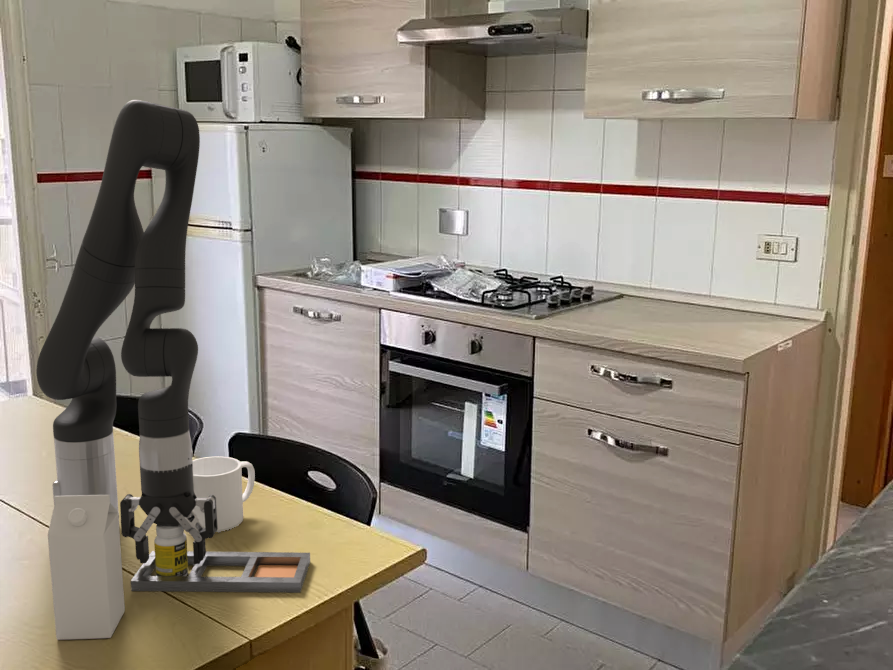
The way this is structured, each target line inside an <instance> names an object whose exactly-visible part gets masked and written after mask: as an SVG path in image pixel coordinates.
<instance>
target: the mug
mask: <svg viewBox="0 0 893 670" xmlns="http://www.w3.org/2000/svg"><path fill="white" fill-rule="evenodd" d="M192 463H193V483H194V493H195V495H196V497H197V498H208V497H209V496H210V495H214V496H215V497H216V509H217V525H218V529H217V531H216V532H218V533H222V532H221V531H224V532H226V531H225V530H227V531H230V530H233V529H235V528H237V527H239V524H241V523H242V522H243V521H244V505H243V504H244V502H246V501H247V500H248V499H249V498H250V496H251V494H253V489H254V486H255V481H256V477H255V476H256V475H255V474H256V473H255V468H254V466H253V464H252V463H250V462H249V461H247V460H246V461H240V460H238V459H237V458H233V457H230V456H229V457H228V456H220V455H219V456H218V455H217V456H207V457H200V458H195V459H192ZM242 468H246V469H247V475H248V477H247V484H246V487H245V490H244V492H243V475H242V474H243V473H242ZM192 511H193V512H194V513H195V515H196V516H197V517H198V519H199V522H200V523H201V525H202V526H203V527H204V528H205V515H204V513H203V512H201V510H200V508H199V507H198V506H195V508H194V509H193V510H192ZM236 526H237V527H236ZM234 527H235V528H234ZM232 528H233V529H232ZM229 529H230V530H229Z"/></svg>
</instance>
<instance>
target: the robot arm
mask: <svg viewBox="0 0 893 670" xmlns="http://www.w3.org/2000/svg"><path fill="white" fill-rule="evenodd" d="M200 134H201V133H200V128H199V124H198V122H197V119H196V118H195V116H194V115H193V114H192V113H191V112H189V111H188V110H185V109H182V108H176V107H174V106H169V105H164V104H159V103H155V102H150V101H146V100H140V99H132V100H129V101H128V102H126V103H125V104H124V105H123V106H122V108H121V109H120V111H119V113H118V116H117V117H116V120H115V123H114V127H113V129H112V133H111V138H110V143H109V147H108V152H107V156H106V160H105V164H104V170H103V174H102V178H101V183H100V186H99V190H98V194H97V197H96V199H95V203H94V207H93V210H92V213H91V216H90V220H89V222H88V224H87V228H86V230H85V232H84V236H83V239H82V241H81V245H80V246H79V250H78V253H77V257H76V259H75V263H74V267H73V271H72V274H71V277H70V280H69V283H68V286H67V288H66V291H65V293H64V297H63V299H62V302H61V305H60V308H59V310H58V313H57V316H56V317H55V319H54V322H53V324H52V325H51V328H50V330H49V332H48V335H47V336H46V339H45V340H44V343H43V345H42V347H41V350H40V353H39V355H38V359H37V363H36V370H35V371H36V380H37V385H38V387H39V389H40V390H41V392H42V393H43V394H44V395H45V396H46V397H48V398H49V399H52V400H57V401H64V400H71V401H70V403H69V404H68V405H67V407H66V408H65V409H64V410H63V411H62V412H61V413H60V414H58V415H57V416H56V417H55V418H54V419H53V422H52V434H53V441H54V443H53V444H54V454H55V455H54V457H55V468H56V479H55V481H54V482H52V496H53V497H52V498H53V499H54V496H70V495H110V503H111V504H112V505H113V507H114V508H115V509H116V510H117V512H118V517H119V518H120V530H121V531H120V532H121V536H122V537H124V538H130V539H133V540H134V543H135V558H136V559H137V560H139V563H140V564H143V563H146V562H147V561H148V559H149V555H150V546H149V545H150V544H149V535H147V533H148V532H149V530H150V528H151V527H152V526H153V524H155V525H157V526H165V525H170V526H178V525H181V526H182V527H183V529H184V532H187V533H189V536H191V537H192V539H193V541H192V549H193V550H192V551H193V554H194V564H200V562H201V561H202V560H203V559H204V557H205V555H206V552H207V551H206V550H207V548H206V545H207V544H206V540H207V539H213V538H214V536H215V534H216V533H215V532H216V531H217V529H218V525H217V509H216V497H215V496H214V495H210V496H209V497H208V498H197V497H196V495H195V493H194V483H193V463H192V460H193V457H194V453H193V447H192V439H191V434H190V421H189V420H190V419H189V418H190V416H189V397H190V396H189V395H190V388H191V383H192V380H193V379H192V378H193V374H194V371H195V368H196V364H197V360H198V356H199V355H198V354H199V344H198V341H197V339H196V337H195V335H194V334H193V333H192V332H191V330H188V329H186V328H182V327H180V328H179V327H178V328H177V327H176V328H175V327H174V328H169V327H167V328H166V327H165V328H164V327H163V328H161V327H160V328H159V327H158V328H151V325H152V323H153V321H154V320H155V318H156V317H157V316H160V315H163V314H169V313H172V312H177V311H180V310H181V309H182V308H183V307H184V306H185V303H186V249H187V237H188V236H187V235H188V227H189V221H190V215H191V210H192V204H193V199H194V197H193V196H194V190H195V184H196V179H197V171H198V165H199V158H200V157H199V156H200V145H201V141H200V139H201V138H200V136H201V135H200ZM144 167H145V168H150V169H156V170H157V169H158V170H163V171H164V172H165V173H164V174H165V187H164V193H163V197H162V199H161V202H160V204H159V206H158V208H157V210H156V212H155V214H154V216H153V217H152V219H151V220H150V222H149V223H148V225H147V226H146V228H145V230H144V227H143V226H142V223H141V219H140V217H139V214H138V213H139V212H138V210H137V207H136V203H135V189H136V183H137V179H138V176H139V173H140V172H141V171H140V170H141V169H142V168H144ZM132 289H134V296H133V297H134V298H133V306H132V310H131V314H130V319H129V322H128V326H127V329H126V333H125V336H124V339H123V341H122V346H121V349H120V350H121V352H120V358H121V362H122V363H121V364H122V366H123V367H124V369H125V371H126V372H127V373H128V374H129V375H131V376H134V377H138V378H139V377H140V378H141V377H143V378H145V377H146V378H151V377H153V378H154V377H161V378H163V377H167V378H168V377H171V383H170V385H168V386H166V387H163V388H157V389H153V390H150V391H146V392H145V393H143V394H141V395H140V396H139V398H138V401H137V402H138V403H137V409H138V410H137V412H138V428H139V442H138V457H139V473H140V475H139V476H140V490H141V496H134V495H133V494H132V493H128V494H126V495H125V496H124V497H123V498H122V500H121V501H120V502H119V500H118V499H119V498H118V484H117V472H116V470H117V468H116V453H115V441H114V440H115V439H114V420H115V418H116V414H117V369H116V367H117V366H116V363H115V357H114V355H113V351H112V350H111V348H110V346H109V345H108V343H107V342H106V341H105V340H103V339H102V338H100V337H98V336H96V335H97V332H98V331H99V329H100V327H102V325H103V324H104V323H105V322H106V321H107V320H108V319H109V317H110V316H111V315H113V313H114V312H115V311H116V310H117V308H118V307H120V306H121V304H122V303H123V302H124V300H125V299H126V298H128V295H130V293H131V292H132ZM54 504H55V502H54V501H53V505H54ZM138 506H139V508H140V509H141V510H142V511H143V512H144V513H145V515H146V517H145V518H144V520H143V522H142V523H141V525H140V526H139V527H138V526H136V524H135V523H136V522H135V521H136V520H135V511H136V510H137V509H138ZM195 506H198V507H199V508H200V510H201V512H203V513H204V515H205V528H204V527H203V526H202V525H201V523H200V522H199V519H198V517H197V516H196V515H195V513H194V512H193V511H192V510H193V509H194V508H195ZM119 509H120V513H119Z"/></svg>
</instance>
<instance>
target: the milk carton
mask: <svg viewBox="0 0 893 670" xmlns="http://www.w3.org/2000/svg"><path fill="white" fill-rule="evenodd" d="M54 502H55V504H54ZM52 509H53V510H52V515H51V518H50V522H49V527H48V530H47V543H48V546H47V547H48V554H49V555H48V556H49V566H50V567H49V568H50V579H51V591H52V593H51V594H52V600H53V601H52V602H53V603H52V604H53V614H54V615H53V616H54V625H55V626H54V627H55V636H56V637H55V638H56V640H58V641H59V640H60V641H61V640H88V639H90V640H91V639H111V638H112V636H113V635H114V632H115V630H116V629H117V626H118V625H119V623H120V622H121V619H122V617H123V615H124V613H125V609H126V608H125V595H124V593H125V592H124V578H123V564H122V550H121V546H122V545H121V535H120V532H121V531H120V516H119V517H118V512H119V511H118V512H117V510H116V509H115V508H114V507H113V505H112V504H111V503H110V495H70V496H54V498H53V508H52Z"/></svg>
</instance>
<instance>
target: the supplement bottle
mask: <svg viewBox="0 0 893 670" xmlns="http://www.w3.org/2000/svg"><path fill="white" fill-rule="evenodd" d="M155 525H156V526H155V530H156V532H155V534H156V536H155V538H154V539H153V540H154V542H153V543H154V546H153V547H154V551H155V565H156V567H155V576H187V575H189V574H188V573H189V565H188V559H187V551H188V539H187V534H186V533H185V530H184V529H183V527H182V526H181V525H178V526H170V525H165V526H157V524H155Z"/></svg>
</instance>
